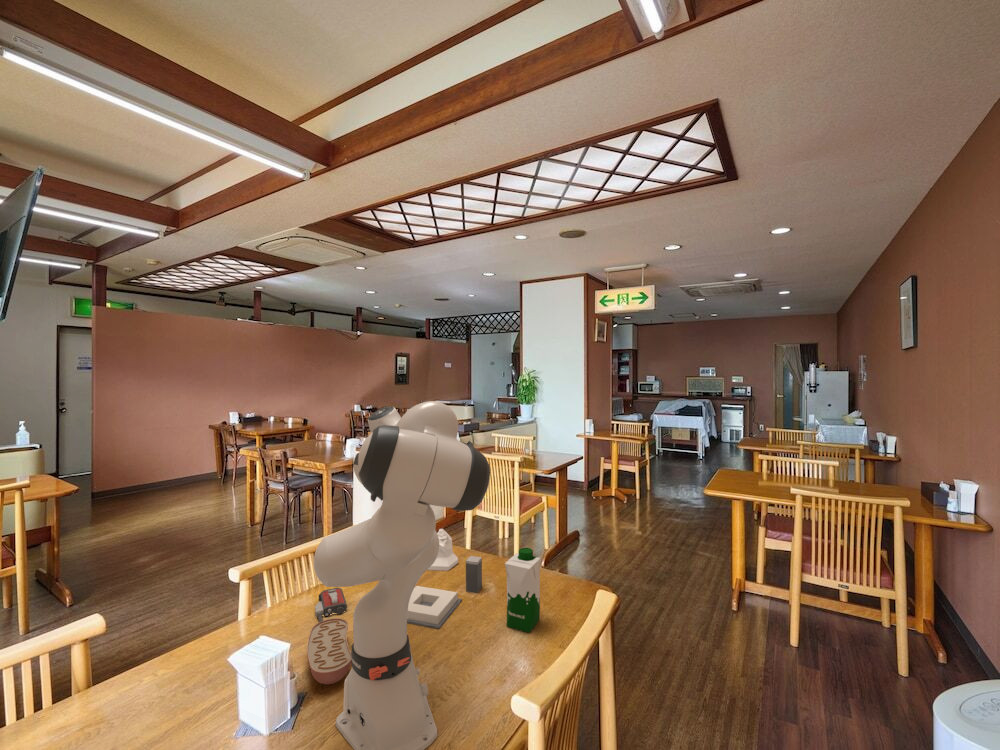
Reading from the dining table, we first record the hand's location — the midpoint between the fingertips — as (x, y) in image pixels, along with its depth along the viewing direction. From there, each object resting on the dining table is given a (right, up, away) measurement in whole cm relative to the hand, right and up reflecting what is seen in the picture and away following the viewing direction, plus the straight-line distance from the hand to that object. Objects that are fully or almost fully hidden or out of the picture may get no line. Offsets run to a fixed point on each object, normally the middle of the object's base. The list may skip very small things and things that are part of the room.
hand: (417, 495), depth 132 cm
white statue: (+2, -35, +38) cm, 52 cm away
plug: (+15, -35, +18) cm, 42 cm away
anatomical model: (-19, -37, -18) cm, 45 cm away
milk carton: (+30, -36, -2) cm, 47 cm away
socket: (+2, -35, +5) cm, 36 cm away
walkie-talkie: (-27, -36, +5) cm, 45 cm away
